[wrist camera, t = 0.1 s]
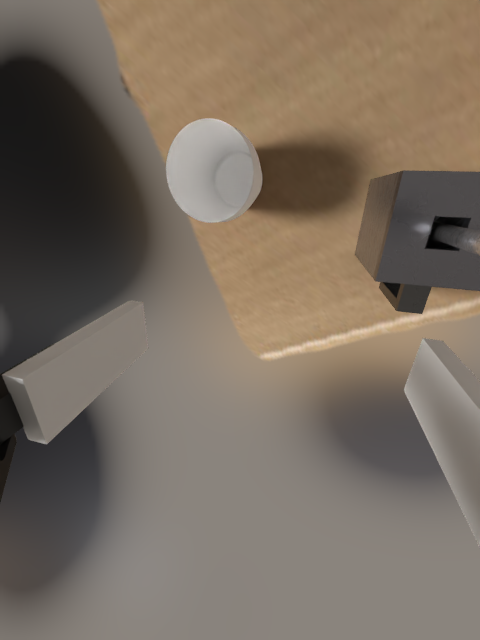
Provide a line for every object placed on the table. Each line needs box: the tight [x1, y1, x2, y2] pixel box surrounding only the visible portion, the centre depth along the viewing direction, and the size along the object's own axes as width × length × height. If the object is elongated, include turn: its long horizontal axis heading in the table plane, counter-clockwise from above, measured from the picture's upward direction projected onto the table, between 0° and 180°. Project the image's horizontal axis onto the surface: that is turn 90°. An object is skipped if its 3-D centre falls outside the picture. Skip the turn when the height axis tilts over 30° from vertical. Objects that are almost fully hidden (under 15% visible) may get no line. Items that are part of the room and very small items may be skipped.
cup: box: [166, 118, 263, 223], centre depth 31 cm, size 9×9×12 cm
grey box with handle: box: [355, 171, 480, 314], centre depth 29 cm, size 12×9×13 cm
